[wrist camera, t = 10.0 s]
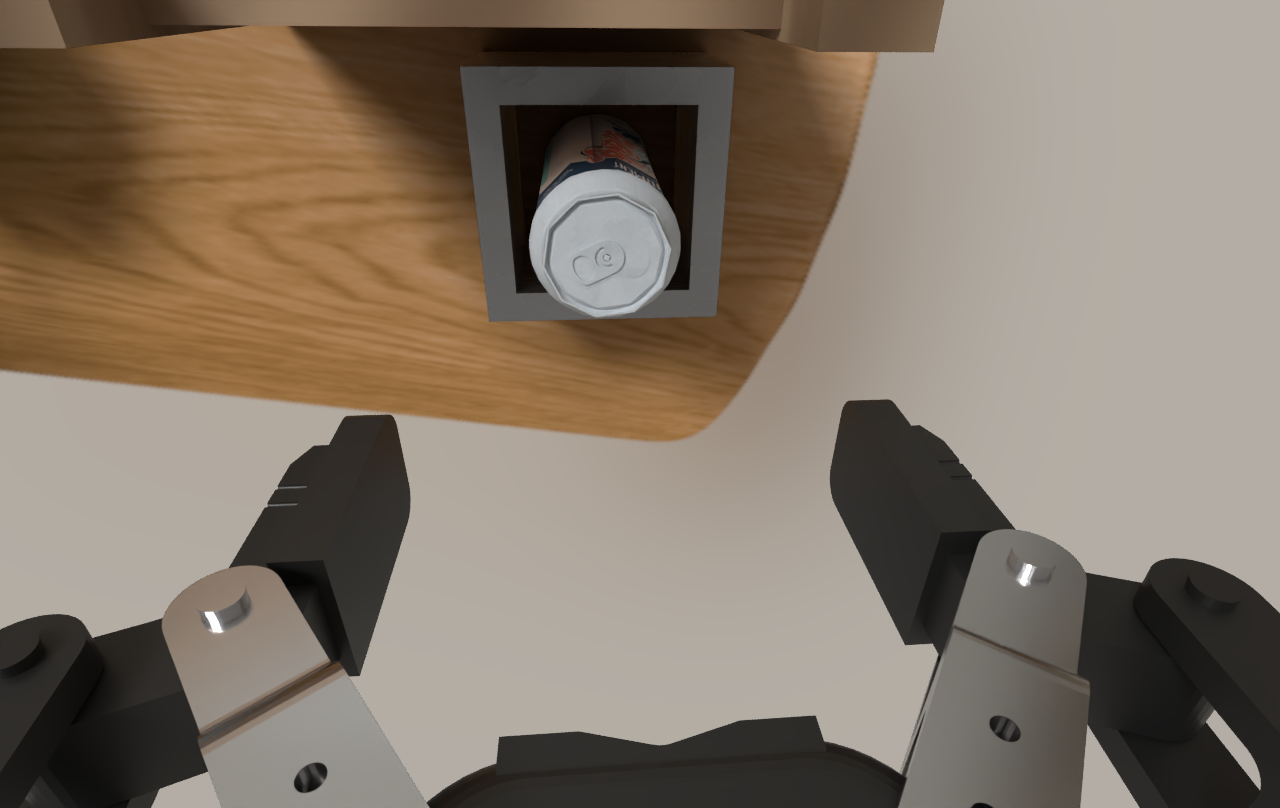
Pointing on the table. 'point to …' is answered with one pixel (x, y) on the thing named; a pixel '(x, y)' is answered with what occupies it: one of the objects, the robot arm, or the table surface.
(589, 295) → the beer can
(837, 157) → the table surface
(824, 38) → the headboard panel
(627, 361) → the table surface
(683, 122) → the post bracket
